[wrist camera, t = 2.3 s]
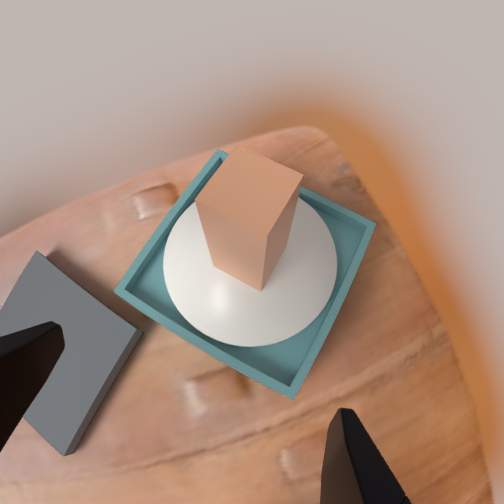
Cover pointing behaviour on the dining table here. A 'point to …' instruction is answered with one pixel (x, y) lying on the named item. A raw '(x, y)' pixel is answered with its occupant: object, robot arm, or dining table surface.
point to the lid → (250, 255)
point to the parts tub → (245, 358)
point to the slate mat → (68, 349)
